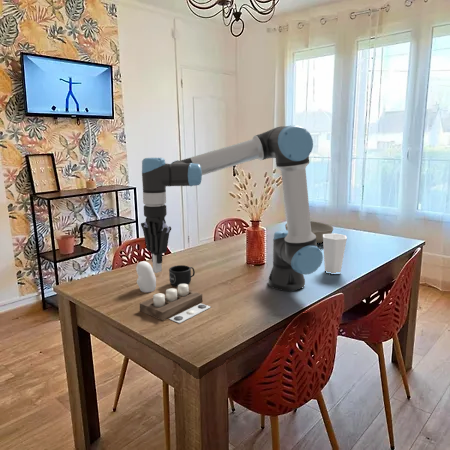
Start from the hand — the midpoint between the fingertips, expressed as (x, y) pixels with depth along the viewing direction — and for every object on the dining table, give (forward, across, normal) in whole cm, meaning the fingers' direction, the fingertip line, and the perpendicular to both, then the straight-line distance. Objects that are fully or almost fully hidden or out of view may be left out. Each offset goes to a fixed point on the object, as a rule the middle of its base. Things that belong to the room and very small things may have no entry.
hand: (157, 271), depth 136 cm
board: (+15, 0, -6) cm, 16 cm away
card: (+15, -10, -6) cm, 19 cm away
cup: (+15, -31, -77) cm, 85 cm away
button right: (+13, 0, -12) cm, 18 cm away
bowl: (+15, +3, -120) cm, 121 cm away
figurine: (+15, +20, -11) cm, 27 cm away
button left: (+13, 0, 0) cm, 13 cm away
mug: (+15, +13, -25) cm, 32 cm away
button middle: (+13, 0, -6) cm, 14 cm away
